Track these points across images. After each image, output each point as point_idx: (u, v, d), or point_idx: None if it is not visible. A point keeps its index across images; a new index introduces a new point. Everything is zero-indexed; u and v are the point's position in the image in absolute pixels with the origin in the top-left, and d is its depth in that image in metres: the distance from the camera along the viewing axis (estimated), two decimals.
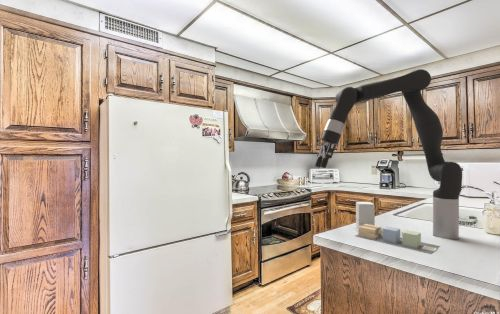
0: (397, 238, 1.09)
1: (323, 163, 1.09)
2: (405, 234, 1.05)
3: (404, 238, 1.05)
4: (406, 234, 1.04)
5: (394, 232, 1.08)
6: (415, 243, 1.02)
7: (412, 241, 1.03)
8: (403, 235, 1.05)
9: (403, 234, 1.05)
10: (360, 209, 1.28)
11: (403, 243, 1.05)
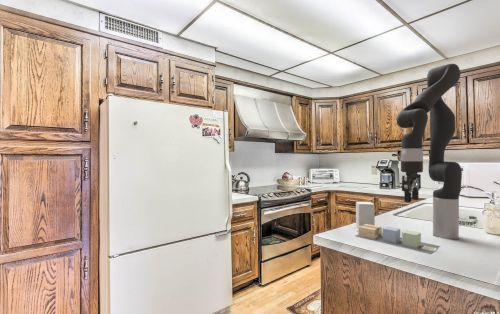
0: (397, 238, 1.09)
1: (405, 198, 1.02)
2: (405, 234, 1.05)
3: (404, 238, 1.05)
4: (406, 234, 1.04)
5: (394, 232, 1.08)
6: (415, 243, 1.02)
7: (412, 241, 1.03)
8: (403, 235, 1.05)
9: (403, 234, 1.05)
10: (360, 209, 1.28)
11: (403, 243, 1.05)
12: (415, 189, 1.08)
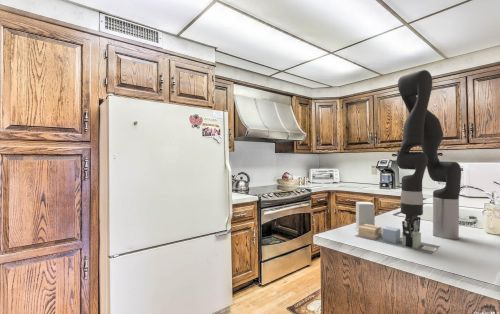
0: (397, 238, 1.09)
1: (406, 242, 1.03)
2: None
3: (404, 238, 1.05)
4: None
5: (394, 232, 1.08)
6: (415, 243, 1.02)
7: None
8: (403, 235, 1.05)
9: None
10: (360, 209, 1.28)
11: (403, 243, 1.05)
12: None
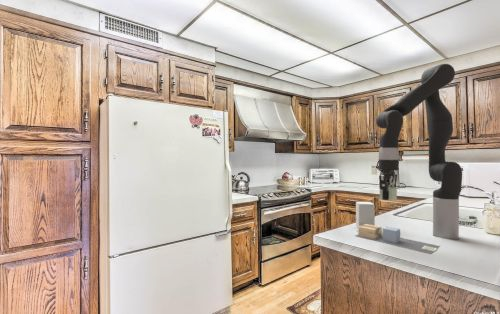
0: (397, 238, 1.09)
1: (383, 196, 1.09)
2: None
3: (381, 193, 1.11)
4: None
5: (394, 232, 1.08)
6: (391, 196, 1.08)
7: (389, 195, 1.09)
8: (380, 190, 1.11)
9: (380, 189, 1.11)
10: (360, 209, 1.28)
11: (380, 197, 1.11)
12: None
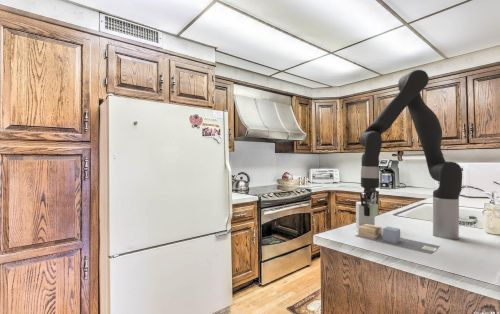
0: (397, 238, 1.09)
1: (364, 212, 1.15)
2: None
3: (363, 209, 1.17)
4: None
5: (394, 232, 1.08)
6: (371, 213, 1.14)
7: None
8: (362, 206, 1.17)
9: None
10: (360, 209, 1.28)
11: (362, 213, 1.17)
12: None
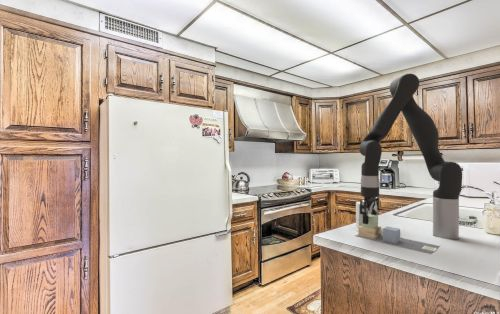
0: (397, 238, 1.09)
1: (363, 220, 1.14)
2: None
3: None
4: None
5: (394, 232, 1.08)
6: (372, 224, 1.14)
7: (370, 223, 1.15)
8: (362, 218, 1.18)
9: (362, 217, 1.18)
10: None
11: (362, 225, 1.18)
12: (374, 211, 1.20)
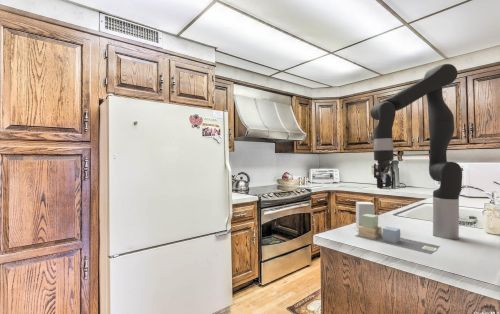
0: (397, 238, 1.09)
1: (377, 184, 1.11)
2: (364, 217, 1.17)
3: (363, 220, 1.17)
4: (364, 216, 1.17)
5: (394, 232, 1.08)
6: (372, 224, 1.14)
7: (370, 223, 1.15)
8: (362, 218, 1.18)
9: (362, 217, 1.18)
10: (360, 209, 1.28)
11: (362, 225, 1.18)
12: (388, 176, 1.16)
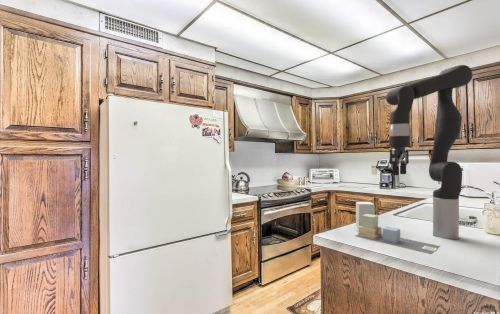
0: (397, 238, 1.09)
1: (393, 171, 1.07)
2: (364, 217, 1.17)
3: (363, 220, 1.17)
4: (364, 216, 1.17)
5: (394, 232, 1.08)
6: (372, 224, 1.14)
7: (370, 223, 1.15)
8: (362, 218, 1.18)
9: (362, 217, 1.18)
10: (360, 209, 1.28)
11: (362, 225, 1.18)
12: (403, 164, 1.12)
